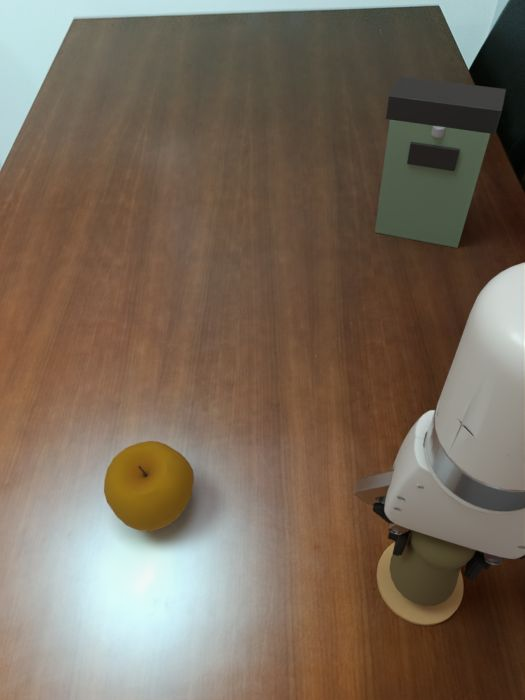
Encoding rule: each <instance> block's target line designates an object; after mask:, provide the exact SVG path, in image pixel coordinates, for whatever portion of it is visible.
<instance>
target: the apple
mask: <svg viewBox="0 0 525 700" xmlns="http://www.w3.org/2000/svg"><path fill="white" fill-rule="evenodd" d="M194 478H195V476H194V469H193V467H192V465H191V463H190V462H189V461H188V459H187V458H186V457H185V456H184V455H183V454H182V453H180V452H179V451H177V450H176V449H175V448H173V447H172V446H169V445H168V444H166V443H163V442H160V441H158V440H157V441H156V440H147V441H140V442H137V443H134V444H132V445H130V446H127V447H125V448H124V449H122V450H121V451H119V452H118V453H117V454H116V455H115V456H114V457H113V458H112V460H111V461H110V463H109V465H108V467H107V469H106V473H105V476H104V481H103V482H104V483H103V493H104V497H105V500H106V503H107V504H108V506H109V507H110V509H111V510H112V512H113V513H114V516H116V518H117V519H119V521H121V522H122V523H123V524H124V525H125V526H127V527H129V528H131V529H133V530H136V531H141V532H154V531H157V530H160V529H163V528H165V527H167V526H170V525H171V524H172V523H174V522H175V521H176V520H177V519H178V518H179V517H180V516H181V515H182V514H183V512H184V510H185V509H186V508H187V506H188V504H189V502H190V500H191V497H192V494H193V493H192V492H193V488H194V480H195V479H194Z"/></svg>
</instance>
